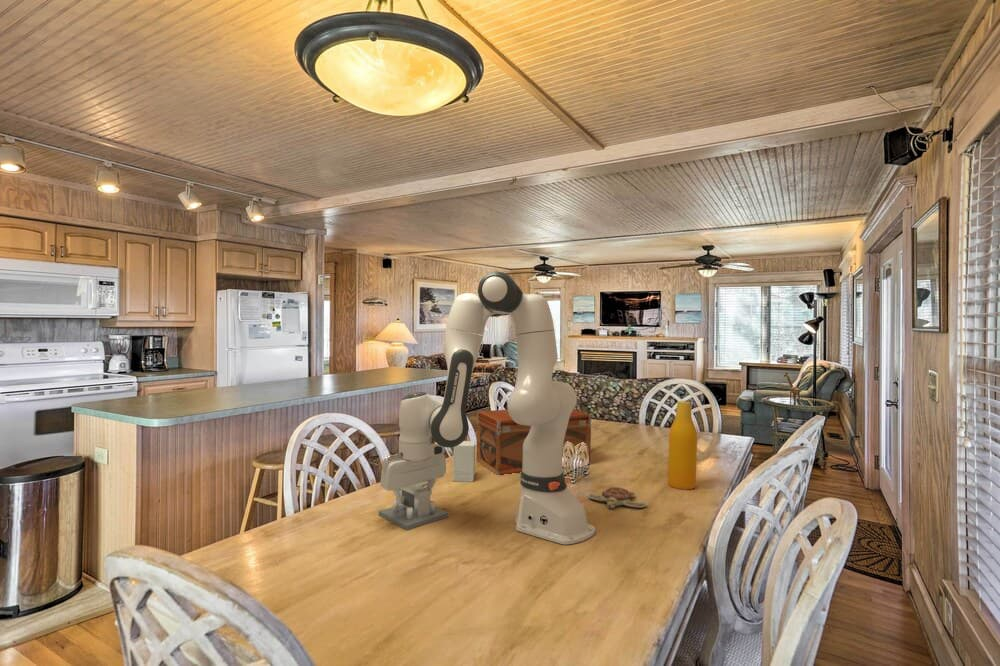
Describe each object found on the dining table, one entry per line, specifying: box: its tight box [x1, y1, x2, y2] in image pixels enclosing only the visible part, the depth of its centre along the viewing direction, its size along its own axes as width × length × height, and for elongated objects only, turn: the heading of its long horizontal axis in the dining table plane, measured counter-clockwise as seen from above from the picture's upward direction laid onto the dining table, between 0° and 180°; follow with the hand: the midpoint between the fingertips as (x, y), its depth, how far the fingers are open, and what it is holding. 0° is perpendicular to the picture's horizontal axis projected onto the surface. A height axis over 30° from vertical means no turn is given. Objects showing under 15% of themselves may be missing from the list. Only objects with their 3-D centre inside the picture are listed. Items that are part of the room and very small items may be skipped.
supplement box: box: [452, 440, 476, 483], centre depth 181 cm, size 7×7×13 cm
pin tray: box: [378, 499, 449, 531], centre depth 146 cm, size 14×14×4 cm
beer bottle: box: [667, 400, 698, 490], centre depth 177 cm, size 9×9×29 cm
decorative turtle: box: [587, 486, 647, 509], centre depth 160 cm, size 18×17×5 cm
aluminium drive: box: [398, 484, 431, 519], centre depth 146 cm, size 10×4×7 cm, turn 44°
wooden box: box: [475, 408, 592, 476], centre depth 202 cm, size 20×41×20 cm, turn 114°
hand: (414, 498), depth 145 cm, fingers open, 8 cm apart
